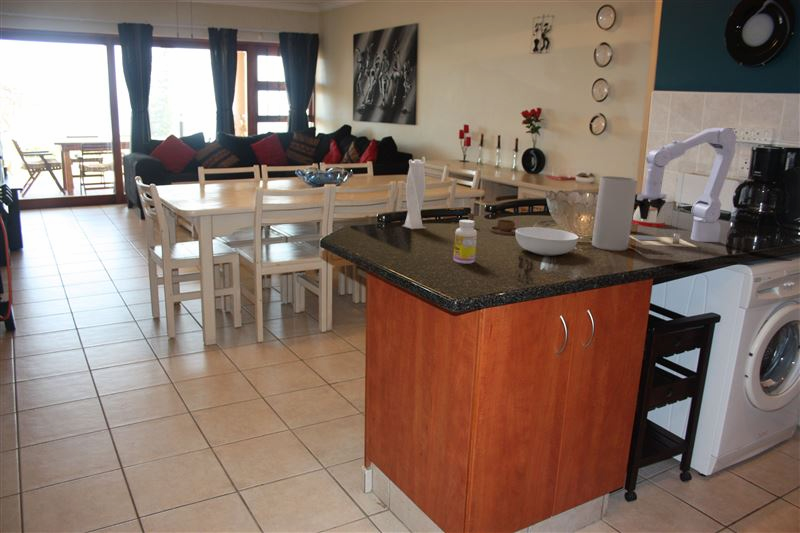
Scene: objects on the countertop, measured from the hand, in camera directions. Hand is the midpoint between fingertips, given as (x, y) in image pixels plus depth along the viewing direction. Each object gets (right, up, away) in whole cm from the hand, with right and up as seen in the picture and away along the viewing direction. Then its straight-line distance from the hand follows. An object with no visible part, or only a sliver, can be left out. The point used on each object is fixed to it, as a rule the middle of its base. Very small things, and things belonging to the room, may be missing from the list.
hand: (648, 218), depth 241 cm
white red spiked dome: (+17, +1, +45) cm, 48 cm away
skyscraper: (-89, -3, +8) cm, 89 cm away
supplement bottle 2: (-4, -5, +18) cm, 19 cm away
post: (+9, -9, -3) cm, 13 cm away
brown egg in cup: (0, -1, 0) cm, 1 cm away
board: (+5, -10, 0) cm, 11 cm away
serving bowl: (-45, -14, -24) cm, 52 cm away
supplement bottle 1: (-74, -17, -42) cm, 87 cm away
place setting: (-56, -4, +11) cm, 57 cm away
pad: (0, -8, +2) cm, 8 cm away
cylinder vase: (-18, -11, -10) cm, 24 cm away
